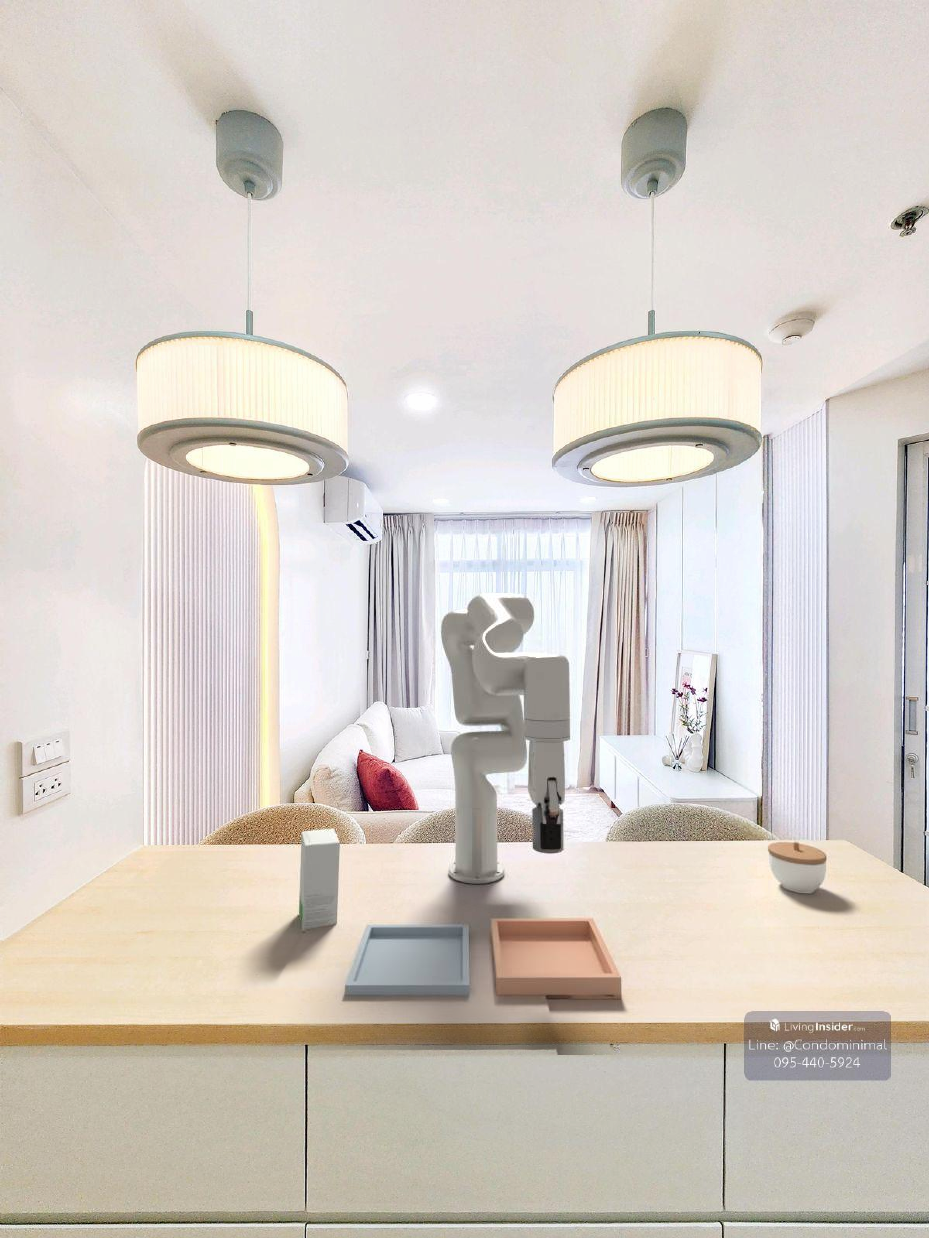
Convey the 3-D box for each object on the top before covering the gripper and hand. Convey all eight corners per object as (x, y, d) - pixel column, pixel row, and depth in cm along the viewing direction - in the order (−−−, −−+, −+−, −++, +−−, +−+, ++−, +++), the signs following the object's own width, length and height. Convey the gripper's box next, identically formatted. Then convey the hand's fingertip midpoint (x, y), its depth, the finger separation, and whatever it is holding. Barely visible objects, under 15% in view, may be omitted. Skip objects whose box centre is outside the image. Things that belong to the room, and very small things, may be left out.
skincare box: (298, 913, 108) (299, 830, 109) (333, 907, 110) (334, 826, 111) (302, 933, 100) (303, 844, 101) (339, 927, 102) (340, 840, 103)
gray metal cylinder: (530, 842, 94) (530, 806, 94) (560, 842, 94) (560, 806, 94) (534, 853, 89) (534, 814, 89) (566, 853, 89) (565, 814, 89)
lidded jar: (811, 878, 124) (809, 834, 124) (838, 899, 113) (837, 852, 114) (760, 876, 125) (759, 833, 126) (782, 897, 114) (781, 850, 115)
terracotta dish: (491, 935, 99) (491, 918, 99) (593, 935, 99) (592, 918, 99) (497, 998, 81) (497, 977, 81) (621, 998, 81) (621, 977, 81)
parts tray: (366, 936, 99) (366, 924, 99) (468, 935, 99) (468, 924, 99) (344, 999, 81) (345, 985, 81) (469, 999, 81) (469, 984, 81)
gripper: (519, 723, 101) (519, 826, 100) (530, 737, 84) (531, 862, 83) (560, 722, 101) (562, 826, 100) (580, 737, 84) (582, 862, 83)
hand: (548, 841), depth 91 cm, fingers closed on gray metal cylinder, 5 cm apart
